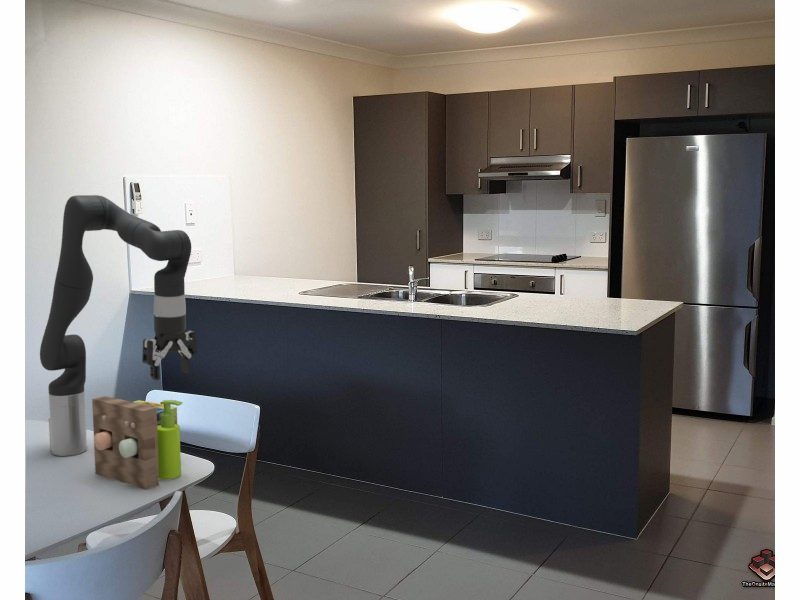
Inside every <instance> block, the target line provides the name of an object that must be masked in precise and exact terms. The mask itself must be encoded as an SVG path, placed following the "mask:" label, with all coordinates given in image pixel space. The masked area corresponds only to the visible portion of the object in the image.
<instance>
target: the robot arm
mask: <svg viewBox="0 0 800 600" xmlns="http://www.w3.org/2000/svg"><path fill="white" fill-rule="evenodd" d="M62 219H63V220H62V234H61V244H60V253H59V258H58V260H59V261H58V264H57V271H56V275H55V279H54V284H53V285H54V286H53V292H52V300H51V305H50V311H49V314H48V319H47V321H46V326H45V329H44V332H43V335H42V339H41V343H40V347H39V360H40V364H41V365H42V368H43V369H45V370H47V371H50V372H51V371H53V372H54V371H61V370H63V372H62V373H61V375H60V376H58V377H57V378H55V379H54V380H52V381H51V382H50V383H49V384H48V402H49V403H48V405H49V417H48V430H49V431H48V432H49V433H48V435H49V450H50V451H51V454H52V455H54V456H59V457H68V456H75V455H79V454H82V453H84V452H86V451H87V449H88V443H87V441H88V439H87V420H86V419H87V417H86V399H85V398H86V396H85V383H86V381H87V377H86V375H87V374H86V373H87V350H86V344H85V341H84V340H83V338H82V336H80V335H78V334H67V335H66V333H67V330H68V328H69V326H70V325H71V324H72V322H73V321H74V320H75V318H76V317H78V316H79V314H80V313H81V312H82V311H83V310H84V308H85V307H86V305H87V304H88V302H89V300H90V297H91V292H92V289H93V282H94V274H93V270H92V268H91V266H90V264H89V262H88V260H87V258H86V256H85V254H84V250H83V243H84V242H83V241H84V235H85V232H92V231H94V232H97V231H102V230H106V231H107V230H109V231H113V232H117V235H118V237H119V238H120V239H121V240H122V241H123V242H124V243H126V244H128V245H130V246H132V247H135V248H137V249H139V250H141V251H142V253H143V254H145V255H146V256H147V257H148V258H149V259H151V260H153V261H156V262H157V261H158V262H164V261H165V262H166V263H167V264H166V266H164V267H163V268H161V269H159V270H157V271H156V272H154V275H153V276H154V277H153V280H154V283H153V284H154V286H153V287H154V291H153V292H154V295H153V296H154V298H153V331H154V334H155V335H154V338H152V339H147V338H144V339H143V341H142V357H141V358H142V360H141V361H142V363H144V364H146V365H148V366H149V370H150V375H149V376H150V378H151V379H152V380H153V381H159V380H161V375H160V374H161V373H160V372H161V369H160V368H161V365H160V363H161V361H162V359H164V358H165V357H166V355H170V354H172V353H179V354H180V355H181V356H182V357H180V366H181V367H180V369H181V371H180V372H182V373H184V374H188V373H190V370H191V358H192V356H194V355H197V354H198V345H197V344H198V343H197V342H198V341H197V340H198V339H197V333H196V331H194V330H193V331H192V330H189V329H188V330H187V307H186V306H187V305H186V304H187V303H186V297H185V295H186V294H185V292H186V291H185V290H186V289H185V288H186V287H185V277H186V273H187V270H188V265H189V262H190V258H191V254H192V243H191V239H190V236H189V235H188V233H187V232H186V231H184V230H182V229H174V230H173V229H172V230H164V231H163V230H161V228H160V227H159V226H158V225H156V224H154V223H153V222H150V221H148V220H146V219H143V218H140V217H138V216H136V215H133V214H132V213H130V212H128V211H126V210H125V209H124V208H122V207H120V206H119V205H117V204H116V203H115V202H114V201H112V200H110V199H109V198H107V197H106V196H103V195H97V194H96V195H95V194H91V195H90V194H89V195H88V194H87V195H85V194H84V195H83V194H82V195H80V194H78V195H72V196H70V197H69V198H68V199H67V201H66V203H65V205H64V210H63V217H62ZM185 340H186V345H185V343H184V342H185Z"/></svg>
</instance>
